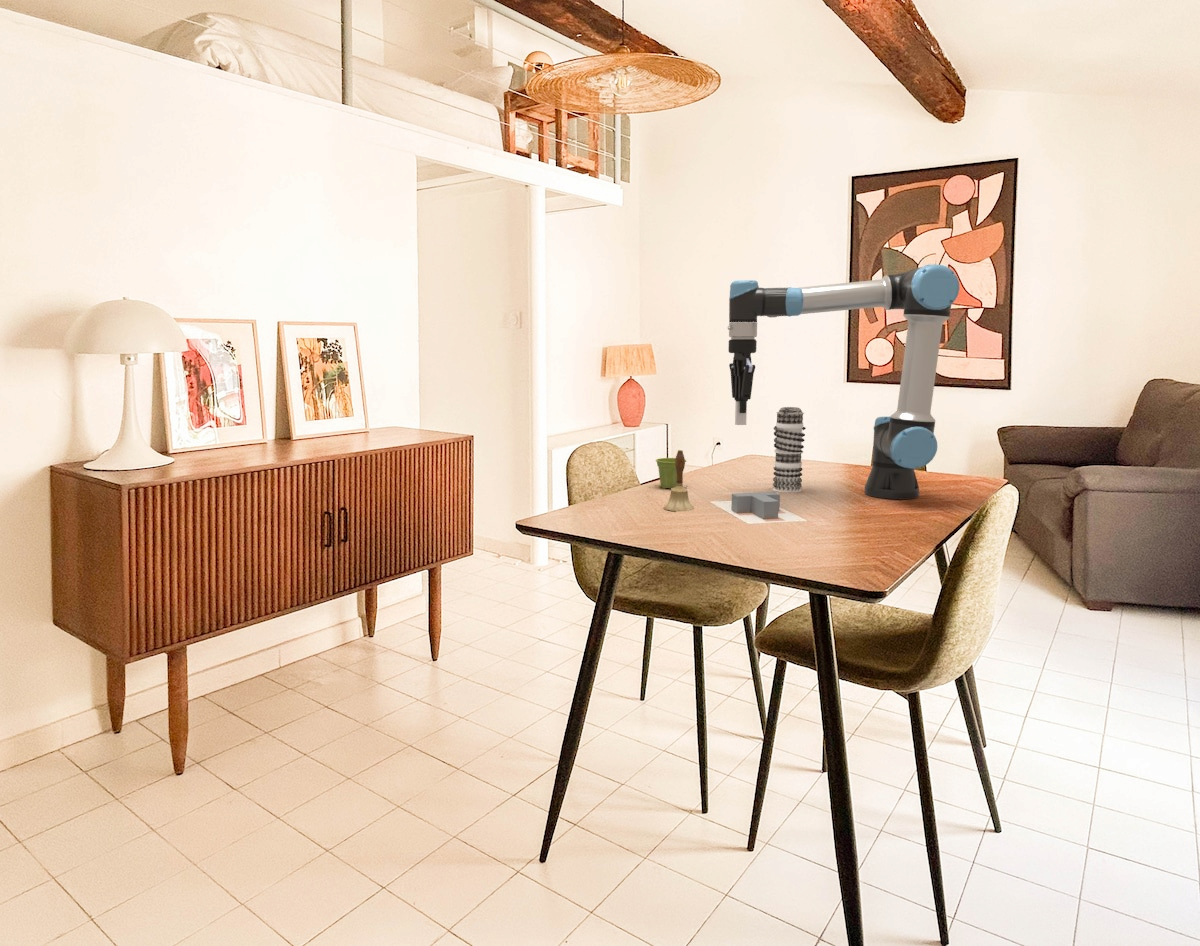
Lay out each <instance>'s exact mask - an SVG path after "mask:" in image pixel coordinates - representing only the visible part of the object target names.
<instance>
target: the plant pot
mask: <svg viewBox="0 0 1200 946" xmlns="http://www.w3.org/2000/svg"><path fill="white" fill-rule="evenodd" d="M675 459H676V457H660V458H656V459H655V462H656V463H657V467H658V474H659V475H658V476H659V482H660V488H661V487H662V489H664V488H666V489H670V488H674V487H676V481H677V471H676V467H675ZM686 462H687V459H686V458H685V463H686Z"/></svg>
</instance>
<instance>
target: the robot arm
mask: <svg viewBox="0 0 1200 946" xmlns="http://www.w3.org/2000/svg"><path fill="white" fill-rule="evenodd" d="M729 287H730V288H729V299H728V300H729V301H728V302H729V304H728V305H729V307H728V308H729V309H728V311H729V314H728V316H729V317H728V318H729V319H728V320H729V323H728V326H727V330H728V337H729V338H730V339H729V340H728V353H730V354H733V358H732V359H733V360H732V363H729V366H728V367H729V372H730V381H731V385H730V386H731V397H732V398H733V399H734V401H735V410H734V411H735V412H734V416H735V417H734V418H735V421H734V425H735V426H747V411H748V409H747V407H748V405H747V404H748V400H751V398H752V389H753V381H754V374H755V369H756V365H755V364H753V363H752V356H751V354H755V353H756V352H757V343H758V342H757V340H756V339H755V338H757V335H758V317H767V318H777V317H778V318H779V317H798V316H800V315H805V314H806V315H808V314H817V313H827V312H839V311H848V310H851V311H853V310H862V309H872V308H883V309H884V310H886V311H889V310H903V317H904V318H905V320H906V321H907V331H906V338H905V339H906V340H905V345H904V347H905V348H904V352H903V361H902V362H903V363H902V367H901V368H902V369H901V377H900V385H899V391H898V392H899V393H898V399H897V400H898V401H897V408H896V411H895V412H893V414H891V415H890V416H879V417H878V416H877V418H875V421H874V425H873V443H872V446H873V447H872V464H871V465H872V466H871V470H870V471H869V474H868V477H867V479H866V481H865V482H866V483H865V484H864V494H865V495H867V496H868V497H869V496H870V497H874V498H880V499H890V500H910V499H916V498H919V496H920V487H919V482H918V479H917V475H916V472H915V469H920V468H923V467H925V466H926V465H928V464H929V463H930V462H932V461H933V459H934V458H935V456H936V455H937V452H938V441H937V437H936V435H935V433H934V432H935V427H936V419H935V418H934V417H933V415H932V414H931V411H932V406H933V405H932V404H933V403H932V402H933V397H934V389H935V382H936V374H937V367H938V360H939V353H940V352H939V351H940V344H941V339H942V338H941V337H942V330H943V325H944V324H945V322H947V321H948V320H949V319H950V317H951V311H952V305H953V303H954V302H955V301H956V300H957V298H958V296H959V293H960V280H959V278H958V275H957V274H956V273H955V272H954V271H953V270H952V269H951V268H950V267H948V266H946V265H943V264H936V263H935V264H934V263H933V264H926V265H924V266H921V267H916V268H912V269H909V270H906V271H903V272H900V273H895V274H886V275H884V276H883V277H882V278H881V279H873V280H872V279H871V280H863V281H862V280H861V281H851V282H843V283H832V284H822V285H813V286H812V285H811V286H799V287H792V286H790V287H767V288H766V287H765V288H764V287H760V286H759V281H757V280H753V279H752V280H751V279H750V280H748V279H747V280H746V279H745V280H744V279H743V280H742V279H739V280H734V281H732V282H731V283H730V286H729Z"/></svg>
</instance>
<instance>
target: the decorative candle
mask: <svg viewBox="0 0 1200 946" xmlns="http://www.w3.org/2000/svg"><path fill="white" fill-rule="evenodd" d="M804 414H805V412H803V411H802V409H801V408H800V407H795V406H794V407H793V406H783V407H781V408H779V410H778V411H776V424H775V426H774V427H773V430H774V432H773V435H774V436H775V437H774V439H773V442H774V443H773V447H774V448H775V449H774V450H773V451H774V453H775V461H774V466H773V470H774V472H773V475H774V477H773V478H772V481H773V483H772V486H773V488H772V490H773V491H774V492H780V493H795V494H796V493H801V492H802V487H803V486H802V482H803V479H802V478H801V477H802V476H803V473H802V471H803V467H802V464H803V463H802V454H803V453H804V451H803V450H802V449H804V448H805V447H804V445H803V444H802V443H803V442H805V439H804V438H803V437H805V436H806V434H805V433H804V432H803V431H804V430H806V428H807V427H805V426H804V422H803V421H804Z"/></svg>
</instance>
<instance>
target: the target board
mask: <svg viewBox="0 0 1200 946" xmlns="http://www.w3.org/2000/svg"><path fill="white" fill-rule="evenodd" d="M710 503H711V504H713V505H714V506H716V507H718V508H720V510H723V511H725V512H726V513H729V514H730V515H732V516H734V517H736V518H737V519H739V520H741V521H743V522H744V523H746V524H748V525H754V524H755V525H756V524H772V523H773V524H774V523H775V524H776V523H792V522H807V521H808V520H807V519H805V518H803V517H801V516H799V515H797V514H795V513H793V512H790V511H788V510H786V509H784V508H783V507H780V510H779V511H778V518H777V519H762V518H760V517H758V516H757V515H755V514H753V513H736V512H734V511H732V510H731V506H732V500H715V501H714V500H713V501H710Z"/></svg>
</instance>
